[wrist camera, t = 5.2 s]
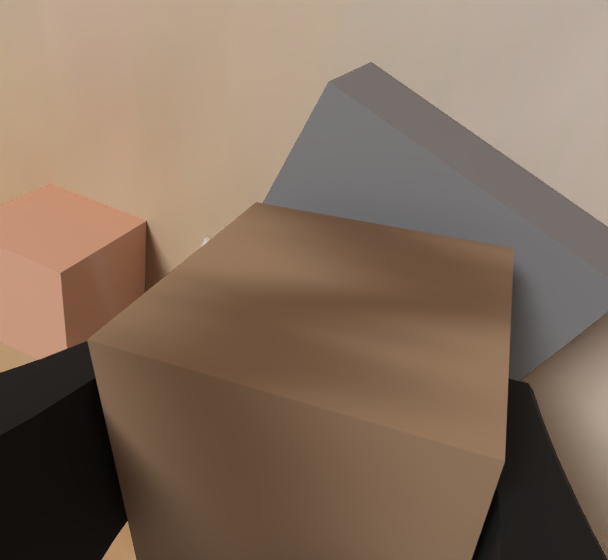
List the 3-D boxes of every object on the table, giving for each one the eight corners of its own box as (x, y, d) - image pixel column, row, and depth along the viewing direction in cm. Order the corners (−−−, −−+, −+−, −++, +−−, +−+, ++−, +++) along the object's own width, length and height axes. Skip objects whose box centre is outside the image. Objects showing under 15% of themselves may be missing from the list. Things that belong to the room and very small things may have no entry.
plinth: (609, 224, 13) (630, 293, 10) (434, 383, 17) (414, 464, 14) (374, 60, 13) (328, 81, 10) (259, 256, 17) (203, 311, 14)
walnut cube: (513, 248, 9) (505, 461, 5) (460, 445, 12) (425, 693, 8) (256, 202, 11) (86, 339, 6) (259, 386, 13) (138, 568, 9)
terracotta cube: (147, 220, 18) (60, 272, 14) (145, 311, 20) (69, 375, 17) (52, 183, 18) (-50, 225, 15) (60, 274, 21) (-28, 328, 17)
